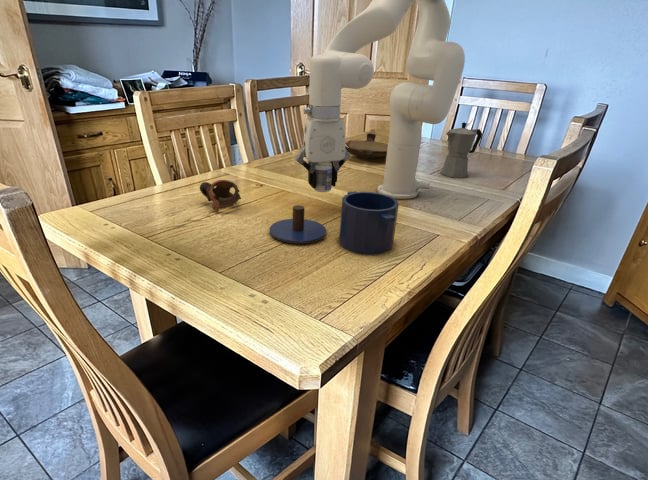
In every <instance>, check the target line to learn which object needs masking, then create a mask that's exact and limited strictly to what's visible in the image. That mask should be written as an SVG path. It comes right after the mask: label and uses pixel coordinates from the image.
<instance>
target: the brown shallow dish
mask: <svg viewBox="0 0 648 480" xmlns="http://www.w3.org/2000/svg"><path fill="white" fill-rule="evenodd" d="M376 136H377V135H376V130H375V129H374V128H372V129H370V132H368V133H366V140H352V139H351V140H348V141H347V142H345V148H346V150H347V151H348V153H349V154H350V155H352V156H355V157H357V158H362V159H363V158H364V159H380V158H383V157H386V156H387V148H388V143H384V142H379V141H375V140H376Z"/></svg>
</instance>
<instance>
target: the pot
mask: <svg viewBox="0 0 648 480" xmlns="http://www.w3.org/2000/svg"><path fill="white" fill-rule="evenodd" d="M346 193H347V194H345V195H344V196H342V198H341V209H340V223H339V235H338V239H339V240H338V241H339V242H338V243H339V244H340V246H341V247H342V248H343V249H344V250H346V251H349V252H351V253H353V254H359V255H364V256H375V255H382V254H385V253H388V252H389V251H391V250H392V249H393V245H394V242H395V241H394V240H395V233H396V227H397V220H398V213H399V208H400V207H399V205H400V204H399V201H398V199H396V198H393V197H391V196H388V195H384V194H381V193H378V192H374V191H358V190H353V191H347V192H346Z"/></svg>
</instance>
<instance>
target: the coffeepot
mask: <svg viewBox="0 0 648 480" xmlns="http://www.w3.org/2000/svg"><path fill="white" fill-rule="evenodd" d="M467 124H468V123H466V122H462V123H461V127H457V128H452V129H448V131H447V132H446V134H445V135H447V139H448V140H447V151H448V154H447V155H446V157H445V160H444V163H443V165H442V168H441V171H440V172H441V174H442V175H443V176H445V177H448V178H454V179H463V178H466V177H467V176H468V167H469V166H468V165H469V157H468V156H469V154H473V153H475V152H476V149H477V147H478V146H479V144H480V141H481V139H482V137H483V133H482V130H481V129H480V128H476V129H473V128H472V129H468V128H466V126H467Z"/></svg>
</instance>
